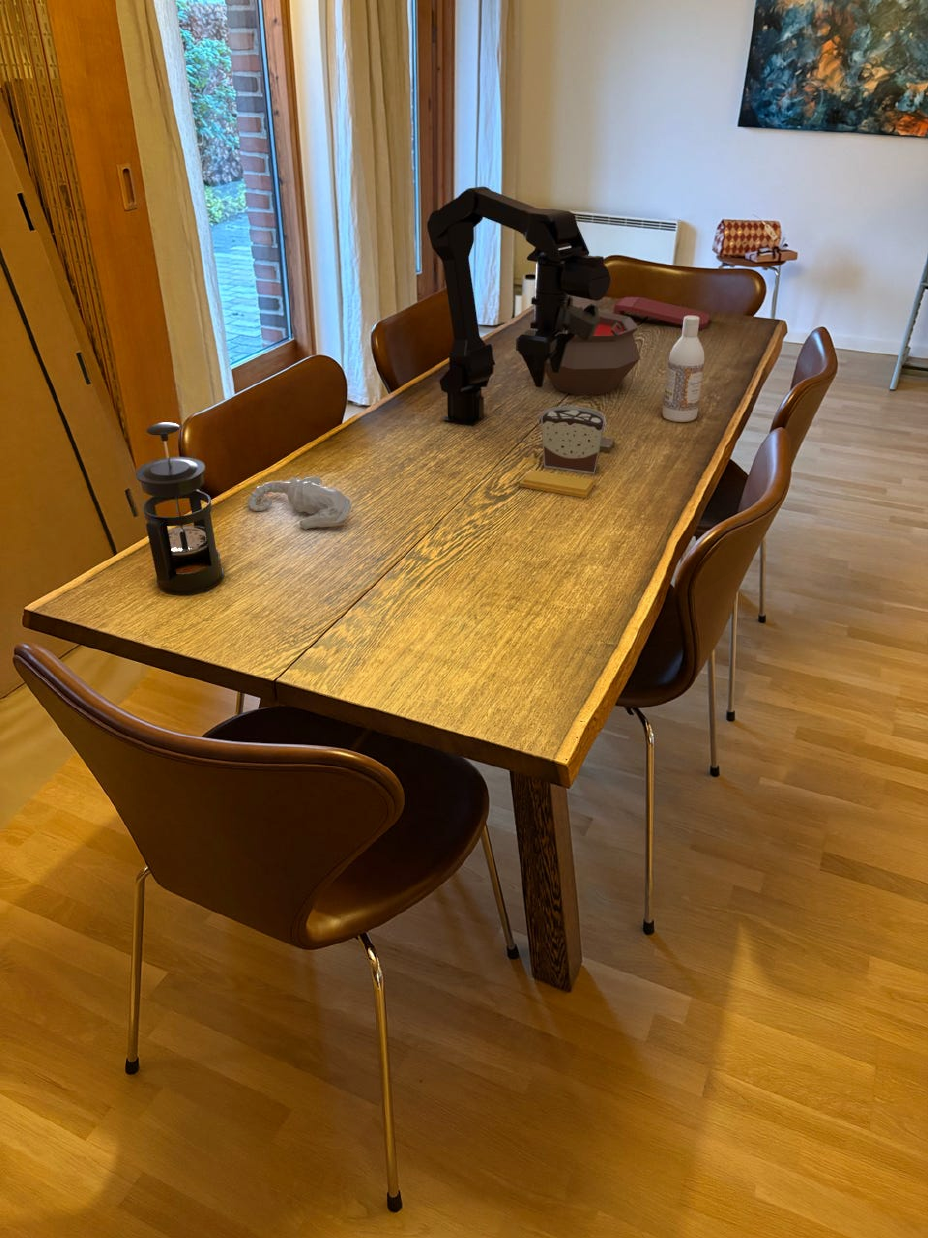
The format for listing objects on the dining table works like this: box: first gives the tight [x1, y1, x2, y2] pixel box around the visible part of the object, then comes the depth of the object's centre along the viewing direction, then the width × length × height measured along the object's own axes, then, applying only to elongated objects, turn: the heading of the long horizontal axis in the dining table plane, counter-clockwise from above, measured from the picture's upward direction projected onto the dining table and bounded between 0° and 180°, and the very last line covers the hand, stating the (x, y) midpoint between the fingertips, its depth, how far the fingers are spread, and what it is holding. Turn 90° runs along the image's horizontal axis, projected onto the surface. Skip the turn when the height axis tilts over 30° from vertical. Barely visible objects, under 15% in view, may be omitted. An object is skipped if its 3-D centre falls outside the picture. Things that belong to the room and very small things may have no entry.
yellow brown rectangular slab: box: [518, 469, 595, 499], centre depth 158 cm, size 12×5×1 cm, turn 67°
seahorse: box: [247, 476, 353, 531], centre depth 148 cm, size 5×12×20 cm
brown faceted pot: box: [545, 310, 642, 396], centre depth 200 cm, size 24×24×16 cm
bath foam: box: [661, 316, 705, 423], centre depth 182 cm, size 7×7×20 cm
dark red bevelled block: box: [612, 296, 711, 330], centre depth 250 cm, size 12×5×25 cm
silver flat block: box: [599, 437, 616, 453], centre depth 174 cm, size 8×4×1 cm, turn 66°
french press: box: [135, 422, 225, 596], centre depth 125 cm, size 12×9×23 cm
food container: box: [537, 405, 608, 475], centre depth 164 cm, size 12×6×10 cm, turn 70°
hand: (547, 379), depth 167 cm, fingers open, 9 cm apart
